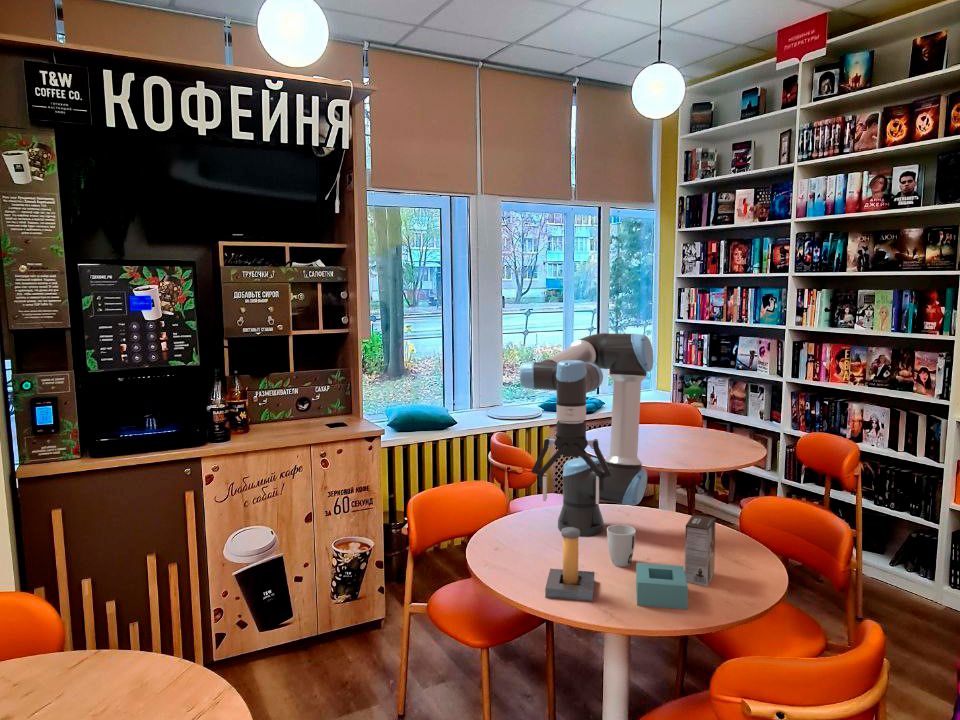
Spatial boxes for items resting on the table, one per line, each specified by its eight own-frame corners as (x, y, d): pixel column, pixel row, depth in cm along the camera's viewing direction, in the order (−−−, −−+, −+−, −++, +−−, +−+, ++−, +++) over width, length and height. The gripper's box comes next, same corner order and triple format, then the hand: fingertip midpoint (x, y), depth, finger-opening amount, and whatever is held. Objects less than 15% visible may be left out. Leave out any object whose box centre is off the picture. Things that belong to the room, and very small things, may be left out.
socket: (636, 584, 175) (636, 562, 174) (682, 587, 173) (683, 566, 172) (637, 605, 163) (637, 582, 163) (687, 609, 161) (687, 586, 160)
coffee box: (690, 569, 184) (692, 514, 182) (714, 573, 181) (716, 517, 179) (683, 582, 176) (685, 524, 174) (708, 587, 173) (710, 528, 171)
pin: (562, 584, 176) (562, 526, 174) (580, 585, 175) (580, 527, 173) (560, 592, 171) (560, 533, 169) (579, 593, 170) (579, 534, 168)
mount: (550, 577, 180) (550, 568, 180) (594, 580, 177) (594, 571, 177) (545, 597, 168) (545, 588, 168) (592, 601, 166) (592, 592, 165)
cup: (635, 570, 184) (636, 535, 183) (606, 567, 185) (606, 533, 184) (634, 558, 192) (635, 525, 191) (606, 556, 193) (606, 523, 192)
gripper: (520, 422, 167) (521, 502, 169) (620, 425, 162) (619, 508, 164) (525, 416, 174) (525, 494, 176) (620, 419, 169) (619, 499, 171)
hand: (570, 501), depth 170 cm, fingers open, 13 cm apart
